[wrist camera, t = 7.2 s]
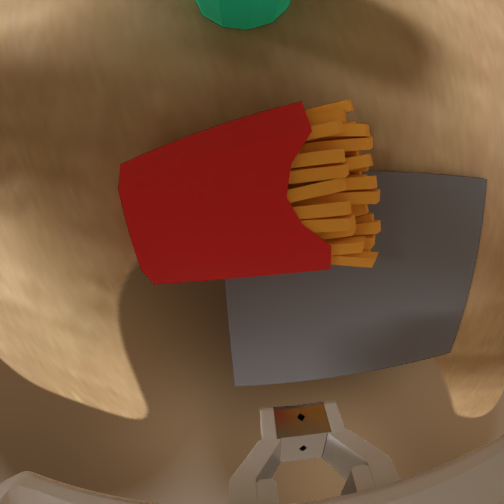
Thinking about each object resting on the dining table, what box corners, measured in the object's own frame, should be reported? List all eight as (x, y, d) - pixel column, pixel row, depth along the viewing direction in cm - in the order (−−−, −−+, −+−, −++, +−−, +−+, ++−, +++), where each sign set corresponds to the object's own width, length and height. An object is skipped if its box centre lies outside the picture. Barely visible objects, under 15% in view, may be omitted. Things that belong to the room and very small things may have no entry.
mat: (235, 382, 23) (235, 386, 23) (217, 173, 18) (216, 174, 17) (447, 349, 24) (450, 352, 23) (482, 178, 18) (486, 179, 18)
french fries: (107, 147, 13) (375, 90, 12) (138, 146, 17) (350, 103, 16) (156, 317, 16) (398, 272, 15) (175, 284, 20) (372, 247, 19)
